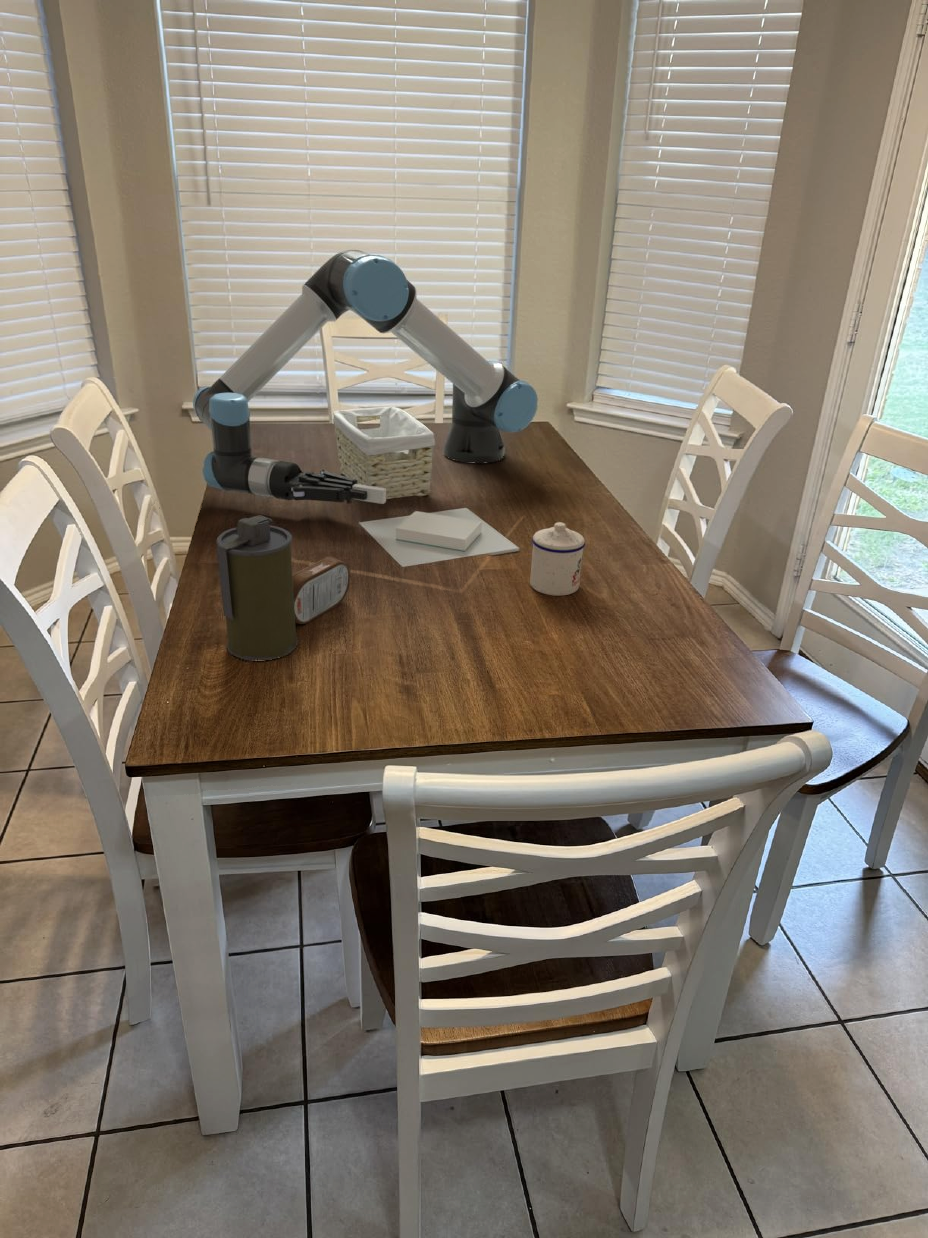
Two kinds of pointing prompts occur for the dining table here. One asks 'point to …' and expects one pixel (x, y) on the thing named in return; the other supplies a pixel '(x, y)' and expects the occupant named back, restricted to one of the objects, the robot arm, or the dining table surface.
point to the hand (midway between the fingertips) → (384, 496)
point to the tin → (319, 588)
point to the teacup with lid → (556, 560)
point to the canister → (257, 589)
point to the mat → (424, 554)
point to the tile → (439, 531)
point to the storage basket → (385, 450)
